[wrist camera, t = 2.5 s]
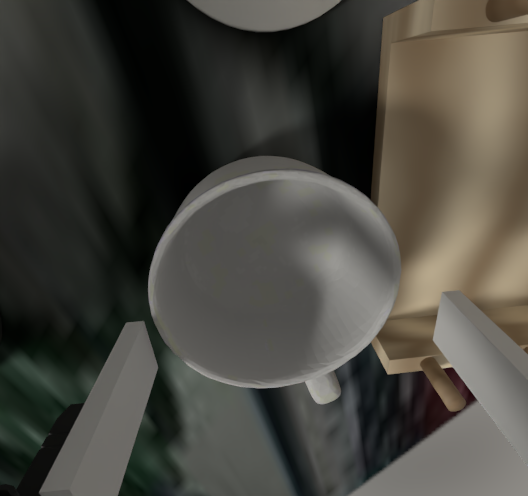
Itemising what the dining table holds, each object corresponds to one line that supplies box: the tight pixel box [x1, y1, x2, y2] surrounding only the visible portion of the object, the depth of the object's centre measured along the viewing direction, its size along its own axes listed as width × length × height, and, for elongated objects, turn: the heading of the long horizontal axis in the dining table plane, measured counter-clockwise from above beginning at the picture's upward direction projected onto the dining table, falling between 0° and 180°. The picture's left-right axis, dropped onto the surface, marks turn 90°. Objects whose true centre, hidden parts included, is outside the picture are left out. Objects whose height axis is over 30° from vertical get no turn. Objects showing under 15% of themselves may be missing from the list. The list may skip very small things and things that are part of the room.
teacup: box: [148, 156, 401, 404], centre depth 18 cm, size 14×11×8 cm
